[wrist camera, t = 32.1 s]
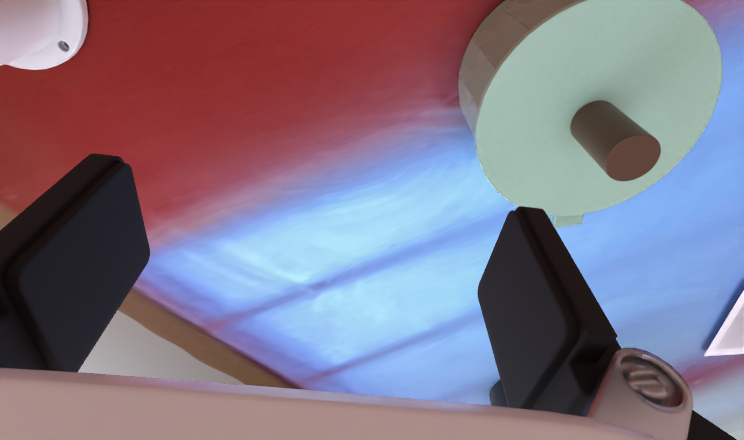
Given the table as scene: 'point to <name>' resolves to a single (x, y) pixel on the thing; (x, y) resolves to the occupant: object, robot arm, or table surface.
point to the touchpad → (730, 333)
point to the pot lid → (597, 103)
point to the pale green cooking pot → (489, 46)
